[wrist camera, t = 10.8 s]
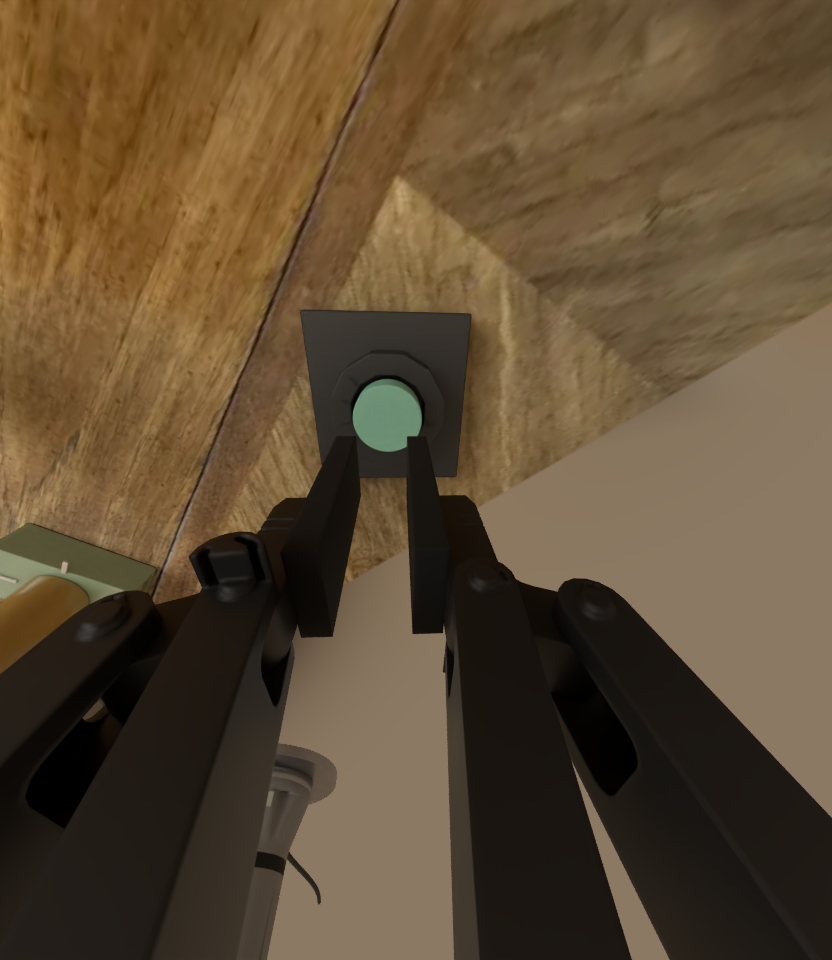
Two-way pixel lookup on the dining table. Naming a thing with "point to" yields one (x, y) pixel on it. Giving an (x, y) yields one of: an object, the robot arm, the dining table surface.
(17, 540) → the dial panel
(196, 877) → the robot arm
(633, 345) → the dining table surface
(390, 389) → the round green button
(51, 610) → the dial
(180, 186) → the dining table surface
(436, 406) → the button base
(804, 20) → the dining table surface
